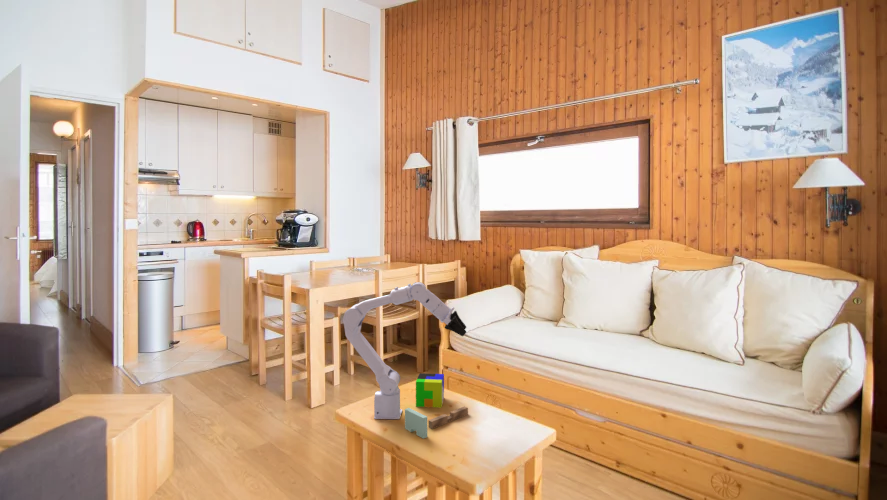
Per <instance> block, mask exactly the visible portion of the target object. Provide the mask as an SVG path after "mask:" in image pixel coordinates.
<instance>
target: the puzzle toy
mask: <svg viewBox="0 0 887 500" xmlns="http://www.w3.org/2000/svg"><path fill="white" fill-rule="evenodd" d="M444 385H445V375H444V373H420V372H419V374H418V376H417V379H416V381H415V407H417V408H419V407H420V408H440V409H441V408H442V407H443V403H444V399H445V386H444Z"/></svg>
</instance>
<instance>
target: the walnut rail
mask: <svg viewBox="0 0 887 500" xmlns="http://www.w3.org/2000/svg"><path fill="white" fill-rule="evenodd" d="M467 415H469V407H468V406H465V405H464V406H462V407H459V408H456V409H454V410H451V411H449V415H447V414H445V413H444V414H441V415H438V416H436V417H433V418H431V419H427V425H428V429H431V430H433V429H435V428H438V427H440V426H443V425H446V424H448V423H450V422H453V421H455V420H458V419H460V418H462V417H465V416H467Z"/></svg>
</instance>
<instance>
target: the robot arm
mask: <svg viewBox="0 0 887 500" xmlns="http://www.w3.org/2000/svg"><path fill="white" fill-rule="evenodd" d="M413 300H415V301H418V302H419V303H420V304H421V305H422V306H423V307H424V308H426V309H427V310H428V311H429V312H430V313H431V314H432V315H433V316H434V317H435V318H437V319H438V320H439V321H440V323H442V324H443V323H444V324H445V326H444V329H445V330H448V331H451V332H454V333H456V335H459V336H461V337H464V336H465V335H466V334H467V330H466V329H467V326H466V324H465V323H464V322H463V320H462V319H461V318H460V316H459V314H458V312H457V310H454V309H455V307H454V306H452V307H451V308H450V307H449V306H448V305H447V304H446V303H445V302H443V301H442V300H441V299H440V298H439V297H438V296H437V295H436V294H434V293H433V292H431V290H430V289H428V288H427V286H426V285H425V284H424V283H423V282H419V281H418V282H417V281H415V282H413V284H412V285H411V283H408V284H407V285H405V286H402V287H398V286H396V287H394V288H393V289H391V291H390V293H389V294H387V295H381V296H378V297H374V298H369V299H366V300H363V301H361V302H358V303H355V304H354V305H352V306H351V307H350V308H348V309H347V310H345V312H344V314H343V317H342V323H343V327H344V333H345V337H346V339H347V340H348V341H349V343H350V344H351V345H352V347H353V348H354V350H355V351H356V352H357V353H358V355H359V356H360V357H361V359H362V360H364V361H363V362H365V363H366V364H367V366H368V367H369V368H370V370H371V371H372V372H373V373H374V376H375V380H376V382H377V383H378V385H379V389H380V390H378V391H375V394H374V401H373V402H374V413H373V414H374V417H373V419H376V420H379V419H380V420H400V419H401V415H402V413H403V409H402V408H401V389H400V387H399V384H400V382H401V376H400V374H399V372H397V371H396V370H395V369H393V368H392V367H391V366H390V365H387V364H386V363H385V362H384V360H383V359H382V358H381V356H380V355H379V354H378V352H377V351H376V350H375V349H374V347H373V346H372V344H370V342H369V341H368V339H366V337H365V336H364V335H363V333H362V332H361V330H362V324H363V321H365V320H364V319H365V317H366V315H367V313H369V312H370V311H371V310H372V309H375V308H379V307H381V306H385V305H389V304H393V305H396V306H398V305H400V304H402V305H403V304H405V303H408V302H412V301H413Z"/></svg>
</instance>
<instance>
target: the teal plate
mask: <svg viewBox="0 0 887 500" xmlns="http://www.w3.org/2000/svg"><path fill="white" fill-rule="evenodd" d="M404 430H406V431H409V432H410V433H414V432H416V436H418V437H419V438H422V439H425V438H428V416H427V415H424V414H422V413H421V412H419V411H416V410H414V409H412V408H410V407H407V408H405V409H404Z"/></svg>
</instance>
